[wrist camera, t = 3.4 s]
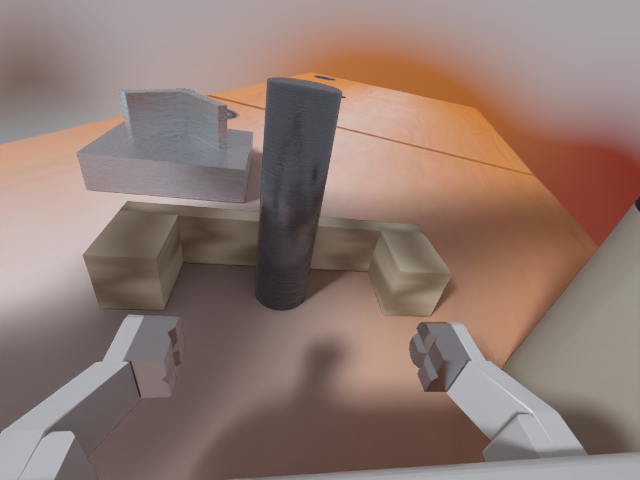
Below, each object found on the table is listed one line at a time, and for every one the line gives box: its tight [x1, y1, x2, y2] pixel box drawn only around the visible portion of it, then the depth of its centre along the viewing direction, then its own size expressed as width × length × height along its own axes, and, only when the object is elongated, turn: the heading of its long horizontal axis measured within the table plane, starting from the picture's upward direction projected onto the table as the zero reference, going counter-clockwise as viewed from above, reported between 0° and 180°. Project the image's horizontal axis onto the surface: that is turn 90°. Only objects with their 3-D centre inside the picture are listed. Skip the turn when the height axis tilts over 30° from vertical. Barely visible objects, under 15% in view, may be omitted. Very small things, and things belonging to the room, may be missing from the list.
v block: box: [77, 88, 253, 203], centre depth 37 cm, size 16×14×9 cm
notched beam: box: [83, 201, 452, 316], centre depth 25 cm, size 24×7×4 cm, turn 96°
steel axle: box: [255, 78, 342, 310], centre depth 21 cm, size 4×4×15 cm
